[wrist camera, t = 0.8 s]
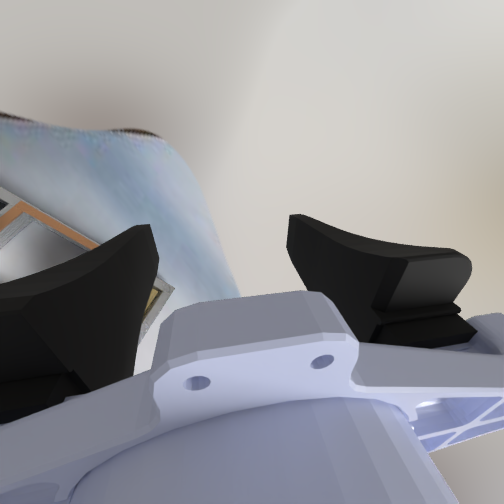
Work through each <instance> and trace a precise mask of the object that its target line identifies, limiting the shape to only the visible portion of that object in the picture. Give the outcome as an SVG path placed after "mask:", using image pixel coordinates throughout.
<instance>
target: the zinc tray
mask: <svg viewBox="0 0 504 504" xmlns="http://www.w3.org/2000/svg"><path fill="white" fill-rule="evenodd" d="M0 202H1V203H3V204H5V205H6V207H4V208H3V209H2V210H1V211H0V249H1V248H2V247H3V246H4V245H5V244H6V243H7V242H9V241H10V240H11V239H12V238H13V237H14V236H15V235H17V234H18V233H19V232H20V231H21V230H22V229H23V228H25V227H26V226H27V225H28V224H29V223H30V222H31V221H35V222H37V223H38V224H40V225H42V226H44V227H46V228H47V229H49V230H51V231H53V232H54V233H56V234H58V235H60V236H62V237H63V238H65V239H67V240H69V241H71V242H72V243H74V244H76V245H78V246H79V247H81V248H83V249H85V250H87V251H88V252H89V251H90V250H92V249H94V248H96V247H98V246H100V244H98V243H97V242H95V241H93V240H92V239H90V238H88V237H86V236H85V235H83V234H81V233H80V232H78V231H76V230H74V229H73V228H71V227H69V226H68V225H66V224H64V223H62V222H61V221H59V220H57V219H56V218H54V217H52V216H50V215H49V214H47V213H45V212H44V211H42V210H40V209H38V208H37V207H35V206H33V205H31V204H30V203H28V202H26V201H25V200H23V199H21V198H19V197H18V196H16V195H14V194H13V193H11V192H9V191H7V190H6V189H4V188H2V187H1V186H0ZM153 288H154V289H156V290H158V291H160V293H159V295H158V296H157V298H156V299H155V301H154V302H153V304H152V305H151V307H150V308H149V310H148V311H147V313H146V314H145V316H144V317H143V320H142V325H141V330H140V335H139V341H138V345H139V343H140V342H141V340H142V339H143V337H144V336H145V334H146V333H147V331H148V329H149V328H150V326H151V325H152V323H153V322H154V320H155V318H156V317H157V315H158V314H159V312H160V311H161V309H162V308H163V306H164V304H165V303H166V301H167V300H168V298H169V297H170V295H171V294H172V292H173V290H174V289H175V288H174V287H172V286H171V285H169V284H167V283H165V282H164V281H162V280H160V279H159V278H157V277H156V279H155V282H154V285H153Z"/></svg>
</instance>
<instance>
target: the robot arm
mask: <svg viewBox="0 0 504 504" xmlns="http://www.w3.org/2000/svg"><path fill="white" fill-rule="evenodd" d="M286 248H287V251H288V254H289V256H290V259H291V261H292V263H293V265H294V267H295V268H296V270H297V272H298V274H299V276H300V278H301V279H302V281H303V283H304V285H305V286H306V288H307V290H308V291H301V290H300V291H292V292H283V293H275V294H266V295H258V296H251V297H241V298H233V299H224V300H216V301H208V302H199V303H196V304H193V305H190V306H187V307H183V308H180V309H177V310H175V311H174V312H173V313H172V314H171V315H170V316H169V317H168V318H167V319H166V320H164V321H163V322H162V323H161V325H160V330H159V334H158V339H157V344H156V348H155V353H154V357H153V362H152V367H151V369H150V370H148V371H145V372H143V373H140V374H137V375H135V376H133V373H134V366H135V359H136V353H137V347H138V341H139V335H140V330H141V325H142V320H143V316H144V312H145V309H146V306H147V303H148V300H149V297H150V294H151V291H152V288H153V285H154V282H155V279H156V275H157V271H158V264H159V255H158V252H157V248H156V245H155V241H154V237H153V234H152V230H151V227H150V224H145V225H136V226H133V227H131V228H129V229H127V230H126V231H124V232H122V233H121V234H119V235H117V236H115V237H114V238H112V239H110V240H109V241H107V242H105V243H103V244H102V245H100V246H98V247H96V248H94V249H92V250H90V251H89V252H87V253H85V254H83V255H80V256H78V257H76V258H74V259H72V260H69V261H67V262H65V263H62V264H60V265H57V266H54V267H52V268H49V269H46V270H43V271H41V272H38V273H35V274H32V275H29V276H26V277H23V278H20V279H16V280H13V281H10V282H6V283H3V284H0V504H460V503H459V502H458V500H457V499H456V497H455V495H454V494H453V492H452V491H451V489H450V487H449V486H448V484H447V483H446V481H445V480H444V478H443V477H442V475H441V473H440V472H439V470H438V469H437V467H436V466H435V464H434V462H433V461H432V459H431V458H430V456H429V454H428V453H430V452H433V451H436V450H439V449H442V448H445V447H448V446H451V445H454V444H457V443H460V442H463V441H466V440H469V439H472V438H475V437H479V436H482V435H485V434H488V433H491V432H495V431H498V430H502V429H504V315H503V314H502V313H491V314H485V315H479V316H474V317H471V318H469V319H467V320H466V321H465V320H464V319H463V318H461V317H460V316H459V315H458V314H457V313H460V312H461V308H460V307H458V306H457V305H456V304H454V303H453V301H454V300H455V298H456V297H457V296H458V294H459V293H460V291H461V290H462V289H463V287H464V286H465V284H466V283H467V281H468V279H469V277H470V275H471V271H472V264H471V261H470V260H469V258H468V257H467V256H465V255H463V254H461V253H459V252H458V251H456V250H454V249H450V248H437V247H422V246H412V245H404V244H397V243H391V242H385V241H380V240H375V239H370V238H366V237H363V236H359V235H356V234H352V233H349V232H346V231H343V230H340V229H338V228H335V227H333V226H330V225H328V224H325V223H323V222H321V221H318V220H316V219H313V218H311V217H308V216H306V215H301V214H295V215H290V216H289V226H288V235H287V245H286Z"/></svg>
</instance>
